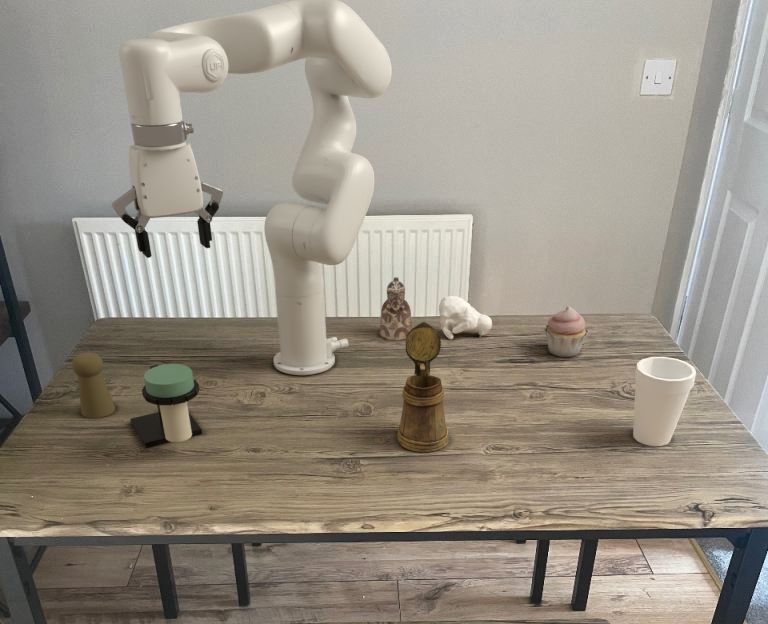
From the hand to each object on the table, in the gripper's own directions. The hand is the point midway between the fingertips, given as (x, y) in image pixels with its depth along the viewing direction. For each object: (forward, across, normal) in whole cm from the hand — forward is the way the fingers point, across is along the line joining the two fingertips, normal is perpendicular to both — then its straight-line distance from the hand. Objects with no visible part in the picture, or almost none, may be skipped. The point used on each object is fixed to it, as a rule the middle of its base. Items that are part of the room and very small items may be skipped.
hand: (176, 250), depth 129 cm
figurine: (+31, -50, -16) cm, 61 cm away
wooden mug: (+31, -32, +25) cm, 51 cm away
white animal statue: (+31, -63, -8) cm, 70 cm away
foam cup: (+31, -66, +46) cm, 86 cm away
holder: (+30, +7, +5) cm, 32 cm away
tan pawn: (+31, +16, -12) cm, 36 cm away
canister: (+27, +7, +10) cm, 30 cm away
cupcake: (+31, -76, +10) cm, 82 cm away
